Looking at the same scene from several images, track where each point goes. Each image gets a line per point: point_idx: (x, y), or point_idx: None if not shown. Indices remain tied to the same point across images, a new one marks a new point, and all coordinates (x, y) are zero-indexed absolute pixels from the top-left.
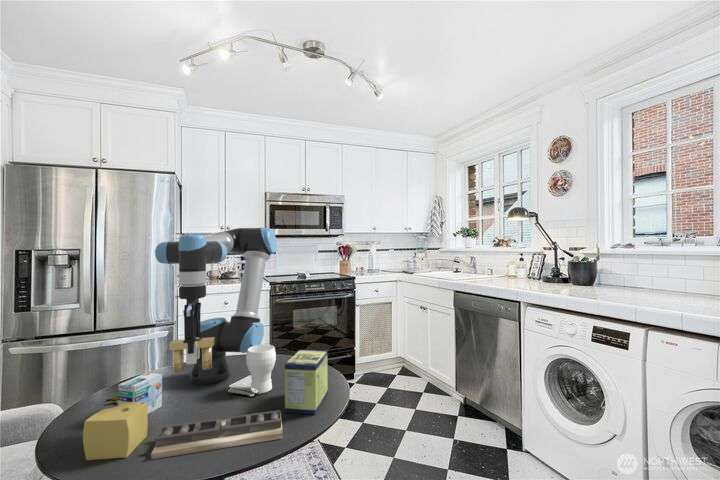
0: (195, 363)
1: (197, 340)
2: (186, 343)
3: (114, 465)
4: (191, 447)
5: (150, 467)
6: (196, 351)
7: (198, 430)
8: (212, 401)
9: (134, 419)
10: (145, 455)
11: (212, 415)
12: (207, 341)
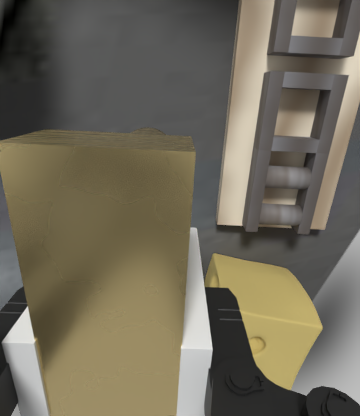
0: (196, 231)
1: (136, 341)
2: (203, 410)
3: (302, 279)
4: (346, 146)
5: (347, 218)
6: (187, 272)
7: (304, 138)
8: (52, 120)
9: (286, 307)
10: (294, 237)
11: (154, 111)
12: (187, 226)
